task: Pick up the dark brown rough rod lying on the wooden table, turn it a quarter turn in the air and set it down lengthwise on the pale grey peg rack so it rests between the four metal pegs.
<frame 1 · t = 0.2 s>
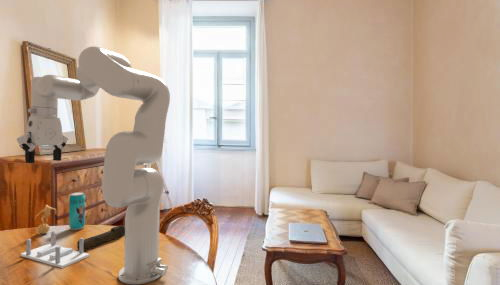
hand: (44, 161, 100), 31 cm above the table, tool pointing down, fingers open, 9 cm apart
dark brown rough rod: (103, 243, 107), on the table
figurine: (44, 234, 113), on the table
peg rack: (55, 256, 94), on the table
beverage can: (77, 228, 121), on the table
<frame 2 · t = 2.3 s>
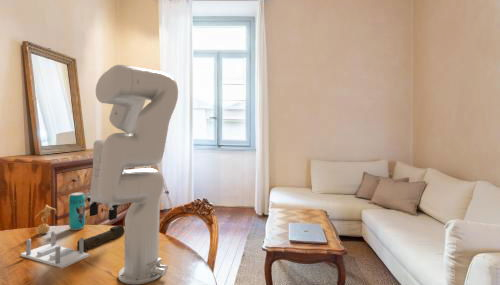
hand: (103, 217, 107), 9 cm above the table, tool pointing down, fingers open, 9 cm apart
nothing on the table moved.
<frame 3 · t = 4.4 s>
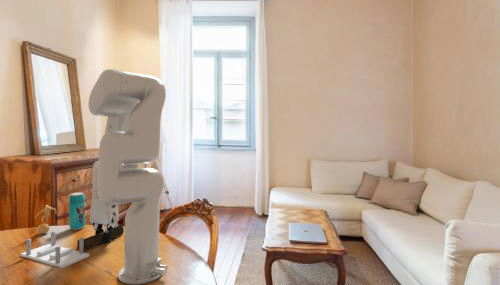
hand: (103, 240, 107), 0 cm above the table, tool pointing down, fingers closed on dark brown rough rod, 3 cm apart
dark brown rough rod: (102, 242, 107), on the table, touching gripper
everything else where it was.
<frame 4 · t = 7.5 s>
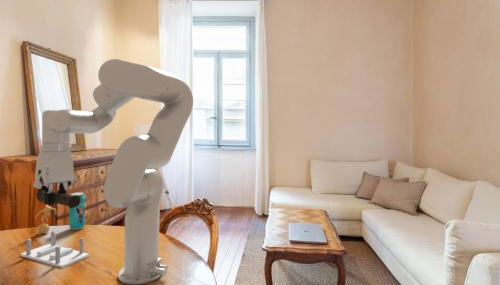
hand: (55, 202, 93), 18 cm above the table, tool pointing down, fingers closed on dark brown rough rod, 3 cm apart
dark brown rough rod: (54, 205, 93), point 17 cm above the table, touching gripper
everything else where it was.
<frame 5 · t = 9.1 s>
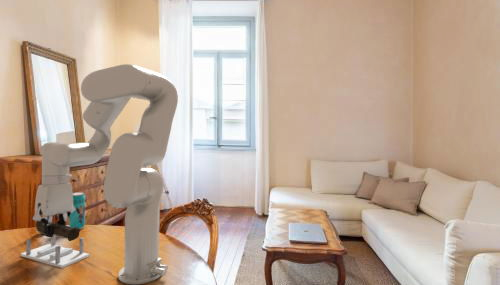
hand: (55, 234, 94), 7 cm above the table, tool pointing down, fingers closed on dark brown rough rod, 3 cm apart
dark brown rough rod: (53, 236, 93), point 7 cm above the table, touching gripper
everything else where it was.
when the fingers open (4 cm above the table, at t = 10.6 s): dark brown rough rod drops 1 cm, resting on peg rack.
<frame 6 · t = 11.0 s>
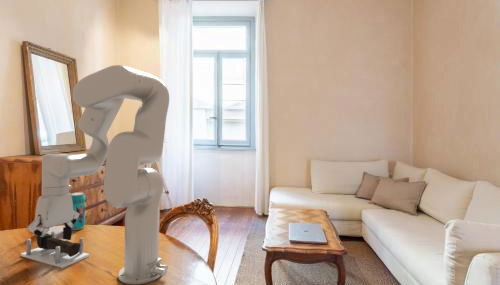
hand: (55, 243, 94), 4 cm above the table, tool pointing down, fingers open, 7 cm apart
dark brown rough rod: (54, 251, 93), point 2 cm above the table, touching peg rack
everything else where it was.
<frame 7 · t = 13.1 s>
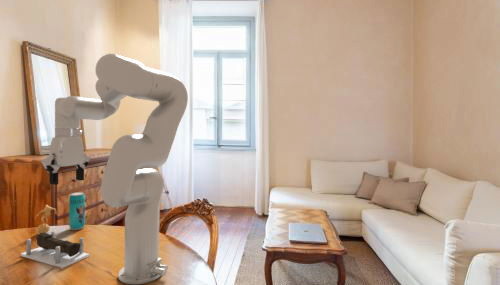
hand: (67, 182, 99), 24 cm above the table, tool pointing down, fingers open, 9 cm apart
nothing on the table moved.
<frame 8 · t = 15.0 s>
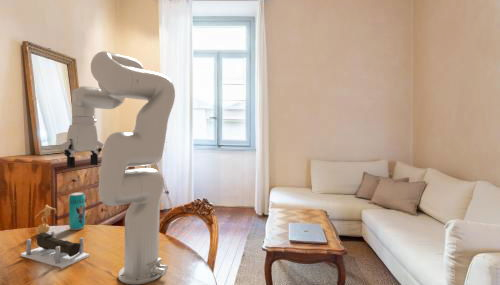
hand: (82, 166, 109), 28 cm above the table, tool pointing down, fingers open, 9 cm apart
nothing on the table moved.
at the end: dark brown rough rod inside the target area on the peg rack (0.6 cm from its centre), point 1.8 cm above the peg rack's base; the gripper is holding nothing; dark brown rough rod touching peg rack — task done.
